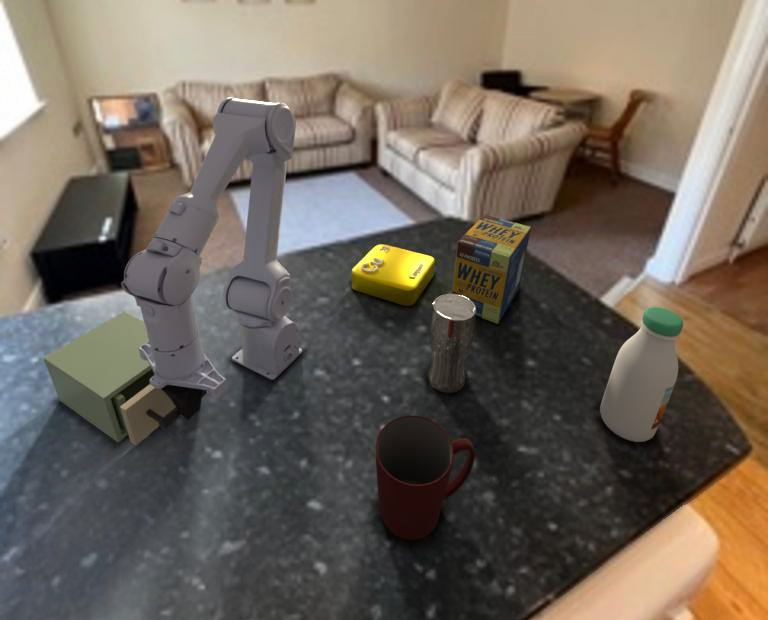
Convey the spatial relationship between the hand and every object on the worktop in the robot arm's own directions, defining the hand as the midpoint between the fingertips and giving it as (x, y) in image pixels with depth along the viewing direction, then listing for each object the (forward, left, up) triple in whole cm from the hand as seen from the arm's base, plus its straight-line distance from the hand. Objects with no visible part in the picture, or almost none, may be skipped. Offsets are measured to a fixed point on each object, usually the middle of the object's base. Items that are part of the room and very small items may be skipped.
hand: (191, 412), depth 62 cm
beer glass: (-27, -28, -5) cm, 39 cm away
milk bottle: (-54, -34, -5) cm, 64 cm away
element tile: (-6, -49, -5) cm, 50 cm away
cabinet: (+16, 0, -4) cm, 16 cm away
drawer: (+10, 0, -4) cm, 10 cm away
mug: (-32, -7, -5) cm, 33 cm away
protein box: (-26, -54, -5) cm, 60 cm away
